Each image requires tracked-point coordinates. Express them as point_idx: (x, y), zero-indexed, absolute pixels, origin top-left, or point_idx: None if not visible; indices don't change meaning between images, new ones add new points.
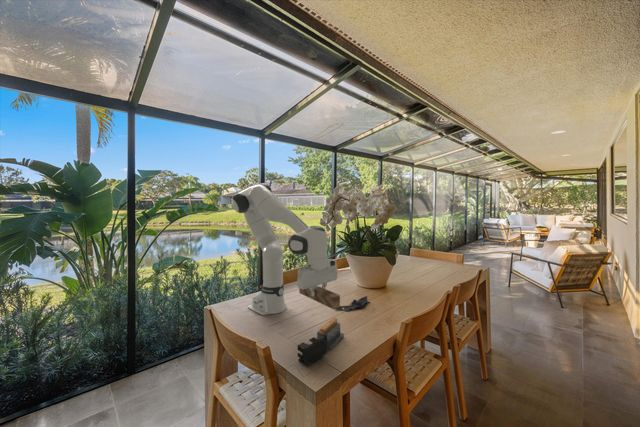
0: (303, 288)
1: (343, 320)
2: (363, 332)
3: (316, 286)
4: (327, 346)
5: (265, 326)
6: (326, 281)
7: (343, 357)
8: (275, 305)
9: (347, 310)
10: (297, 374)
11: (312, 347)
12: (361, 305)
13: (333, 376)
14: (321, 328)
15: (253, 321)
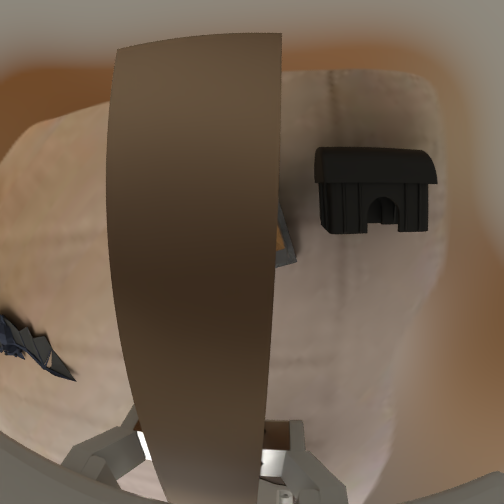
0: (501, 477)
1: (83, 309)
2: (79, 193)
3: (185, 501)
4: None
5: (331, 447)
6: (60, 483)
7: None
8: None
9: (43, 340)
10: (443, 164)
11: (403, 165)
12: (2, 318)
13: (364, 70)
14: (278, 242)
15: (334, 475)
